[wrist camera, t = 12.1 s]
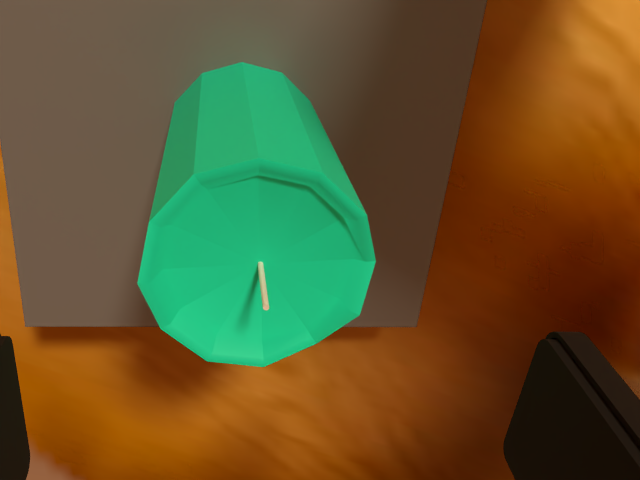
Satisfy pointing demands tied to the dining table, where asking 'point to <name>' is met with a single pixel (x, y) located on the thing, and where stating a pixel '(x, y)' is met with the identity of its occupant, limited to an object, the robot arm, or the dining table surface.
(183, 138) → the candle
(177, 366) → the dining table surface
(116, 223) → the plinth
